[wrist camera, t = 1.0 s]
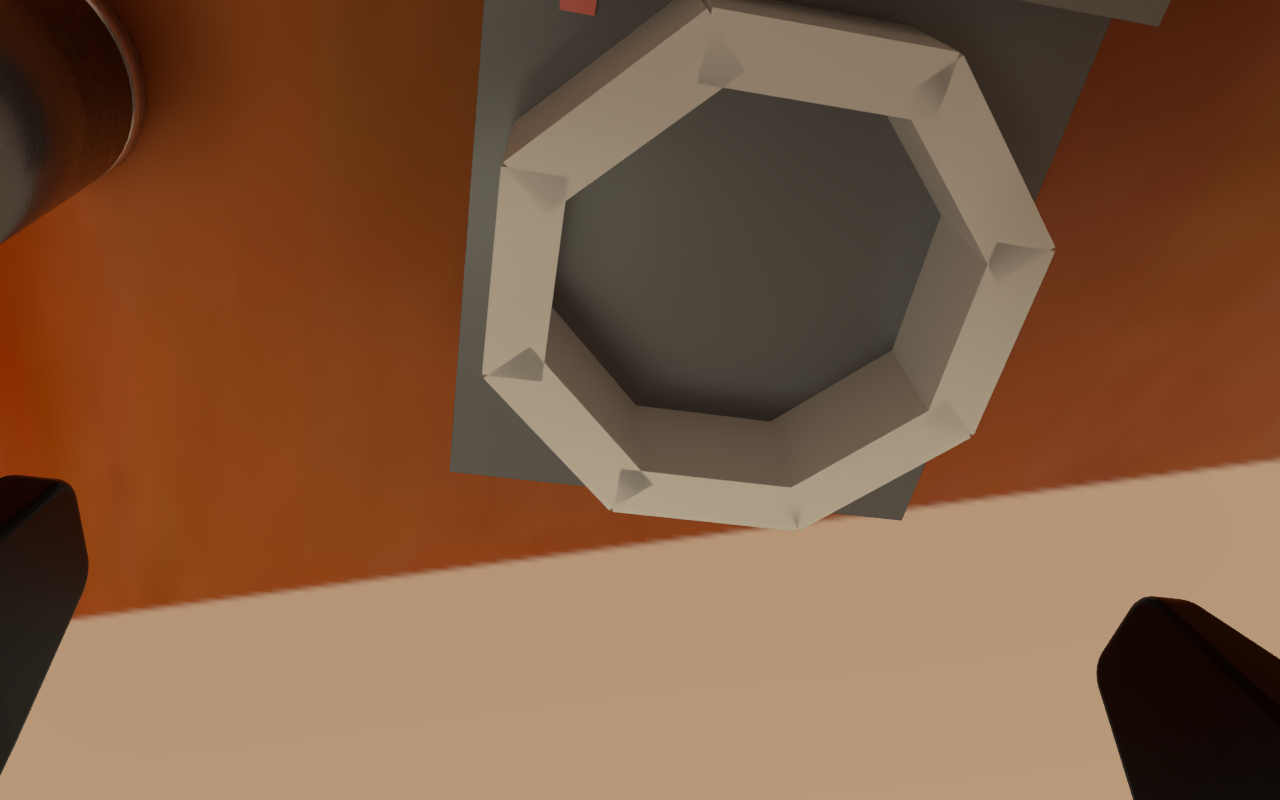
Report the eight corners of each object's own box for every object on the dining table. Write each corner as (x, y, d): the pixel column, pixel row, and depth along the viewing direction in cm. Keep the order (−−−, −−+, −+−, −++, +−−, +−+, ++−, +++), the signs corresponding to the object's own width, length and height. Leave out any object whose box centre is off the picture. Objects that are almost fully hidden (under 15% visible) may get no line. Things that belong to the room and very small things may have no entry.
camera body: (1046, -175, 15) (1298, -187, 10) (846, 402, 22) (933, 591, 16) (531, -288, 14) (493, -372, 9) (475, 355, 20) (433, 541, 15)
